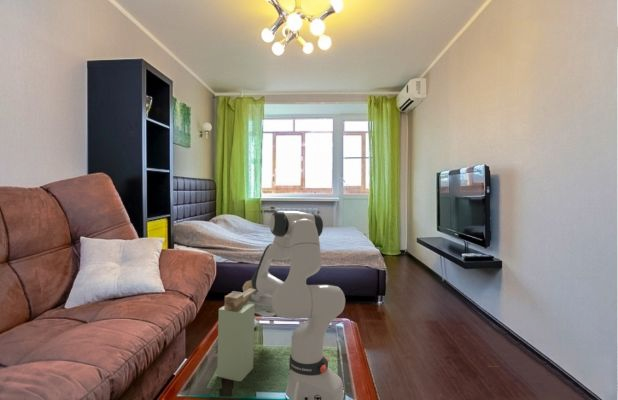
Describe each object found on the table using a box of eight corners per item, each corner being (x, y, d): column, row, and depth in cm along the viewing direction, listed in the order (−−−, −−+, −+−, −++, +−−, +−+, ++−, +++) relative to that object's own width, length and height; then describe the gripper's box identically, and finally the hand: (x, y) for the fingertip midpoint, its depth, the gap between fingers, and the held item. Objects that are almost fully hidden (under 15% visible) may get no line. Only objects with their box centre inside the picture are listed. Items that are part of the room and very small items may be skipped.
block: (258, 296, 142) (258, 284, 141) (236, 311, 124) (236, 298, 124) (247, 295, 143) (247, 283, 143) (224, 309, 126) (224, 296, 126)
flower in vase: (230, 327, 171) (231, 279, 170) (246, 320, 180) (247, 274, 179) (248, 335, 163) (249, 284, 162) (264, 327, 173) (266, 279, 172)
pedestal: (253, 368, 134) (254, 304, 133) (240, 381, 125) (242, 313, 124) (230, 363, 137) (232, 300, 136) (217, 376, 128) (218, 309, 127)
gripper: (239, 292, 153) (226, 284, 141) (281, 298, 147) (270, 290, 135) (236, 306, 150) (221, 299, 138) (278, 313, 144) (267, 306, 132)
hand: (246, 295), depth 137 cm, fingers closed on block, 3 cm apart
